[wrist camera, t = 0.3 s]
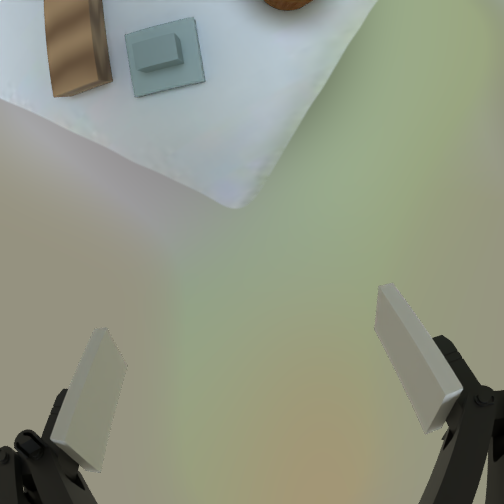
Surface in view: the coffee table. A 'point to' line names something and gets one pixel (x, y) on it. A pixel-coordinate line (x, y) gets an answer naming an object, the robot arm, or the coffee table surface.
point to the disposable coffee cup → (287, 4)
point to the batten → (76, 46)
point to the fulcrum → (164, 57)
